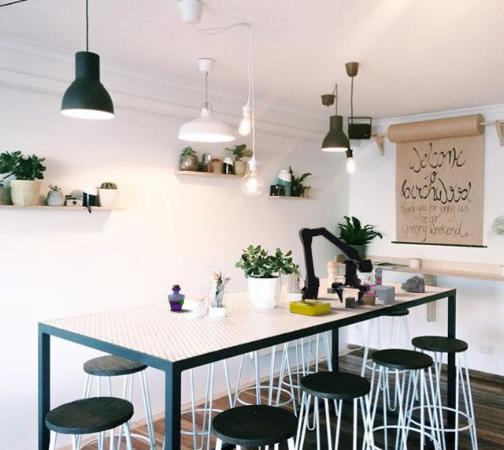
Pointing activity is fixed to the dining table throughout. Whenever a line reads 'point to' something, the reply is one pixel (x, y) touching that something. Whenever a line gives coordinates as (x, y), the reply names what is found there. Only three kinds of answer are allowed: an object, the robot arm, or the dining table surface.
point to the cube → (369, 300)
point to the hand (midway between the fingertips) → (350, 303)
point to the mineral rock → (414, 285)
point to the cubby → (385, 293)
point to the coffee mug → (315, 293)
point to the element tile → (309, 307)
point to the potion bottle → (176, 299)
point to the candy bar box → (373, 280)
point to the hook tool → (352, 302)
